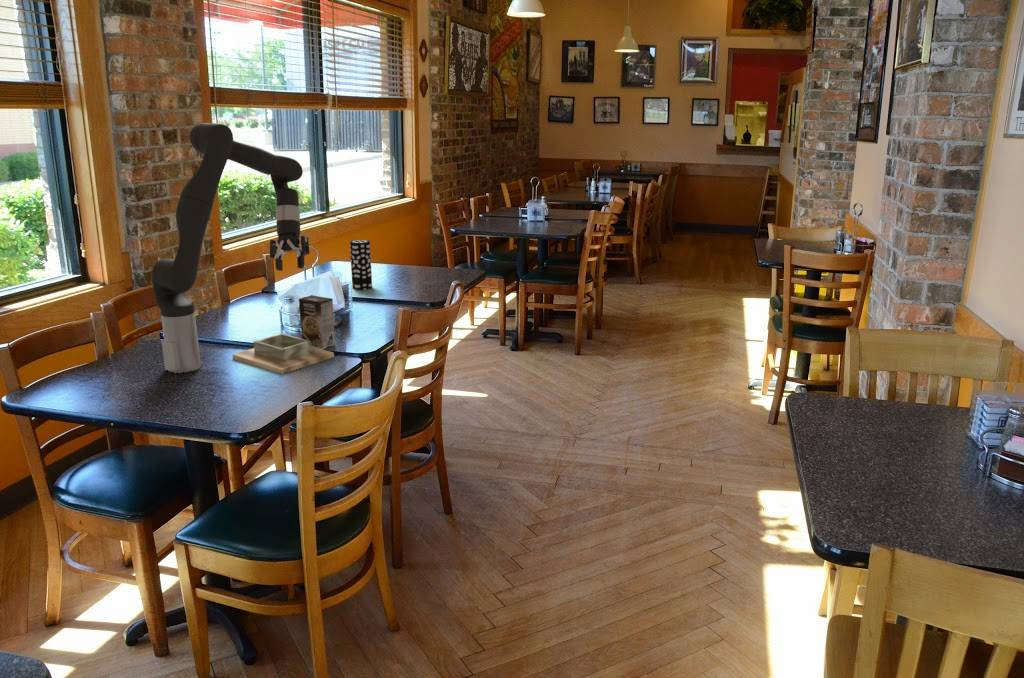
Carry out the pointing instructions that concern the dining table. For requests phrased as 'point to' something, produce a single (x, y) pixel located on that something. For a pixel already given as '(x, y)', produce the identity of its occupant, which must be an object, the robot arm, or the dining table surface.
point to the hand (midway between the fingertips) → (290, 269)
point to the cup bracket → (283, 353)
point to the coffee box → (317, 320)
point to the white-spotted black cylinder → (361, 264)
